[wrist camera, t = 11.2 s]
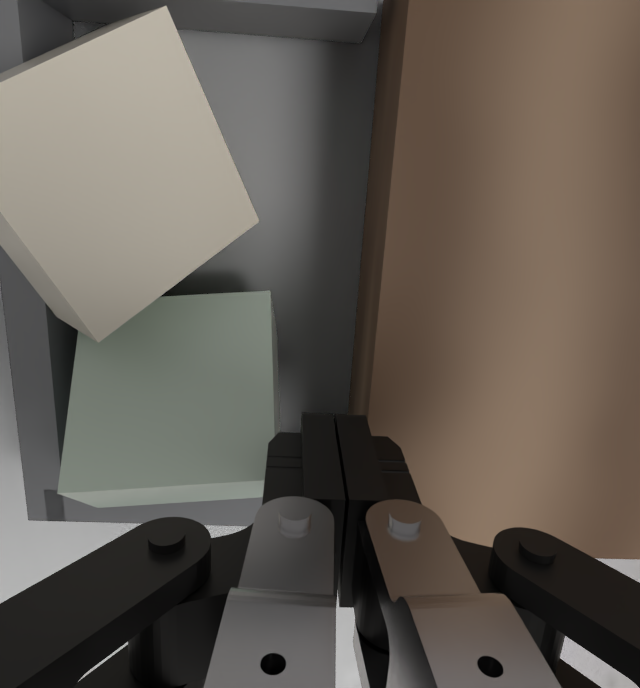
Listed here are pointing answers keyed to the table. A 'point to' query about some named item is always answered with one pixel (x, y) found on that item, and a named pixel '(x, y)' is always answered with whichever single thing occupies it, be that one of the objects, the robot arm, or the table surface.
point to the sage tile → (175, 404)
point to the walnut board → (507, 265)
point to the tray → (31, 310)
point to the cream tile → (113, 172)
